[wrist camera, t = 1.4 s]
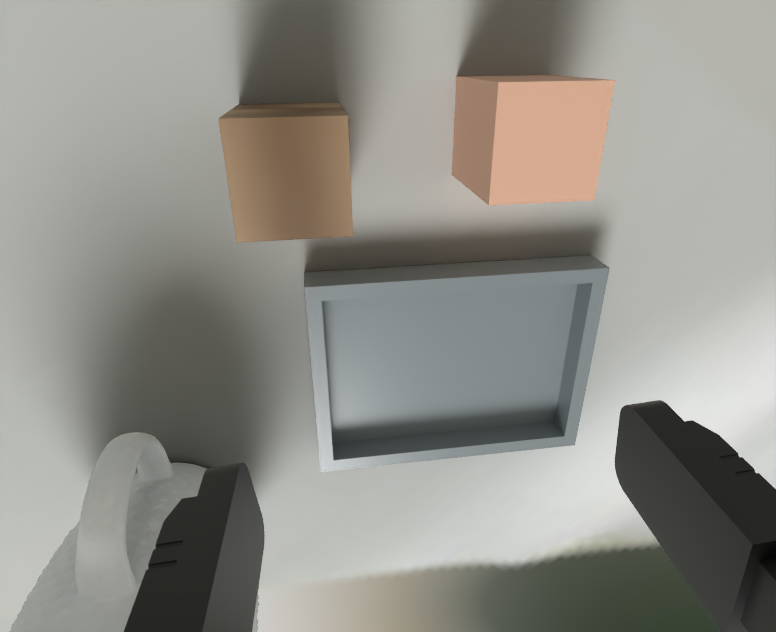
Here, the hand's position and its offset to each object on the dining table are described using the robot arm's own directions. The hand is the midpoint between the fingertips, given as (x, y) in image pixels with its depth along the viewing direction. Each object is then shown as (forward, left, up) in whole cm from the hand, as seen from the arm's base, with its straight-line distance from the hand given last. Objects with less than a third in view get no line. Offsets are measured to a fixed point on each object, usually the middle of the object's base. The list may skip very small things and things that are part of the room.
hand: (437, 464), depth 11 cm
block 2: (+7, +5, -18) cm, 19 cm away
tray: (+5, -8, -18) cm, 20 cm away
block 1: (-3, +4, -18) cm, 18 cm away
